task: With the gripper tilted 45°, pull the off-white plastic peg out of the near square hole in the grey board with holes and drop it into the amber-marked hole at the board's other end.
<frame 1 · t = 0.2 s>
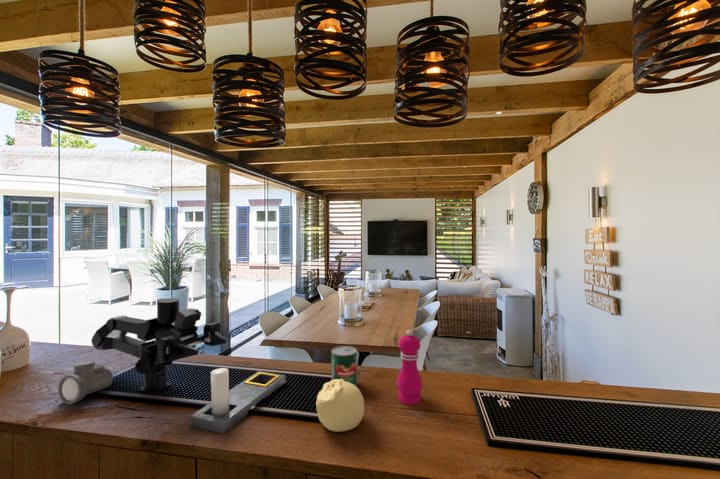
hand: (212, 346, 95), 17 cm above the worktop, fingers open, 9 cm apart
pepper mill: (409, 400, 99), on the worktop
peg: (220, 419, 90), resting in grey board with holes
sculpture: (340, 425, 87), on the worktop
canned tomato: (344, 385, 108), on the worktop
grey board with holes: (243, 402, 98), on the worktop
grey flashlight: (89, 395, 103), on the worktop
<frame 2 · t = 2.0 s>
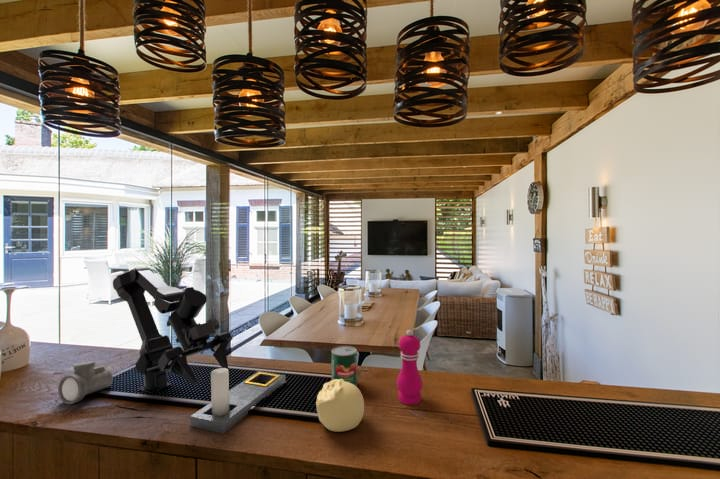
hand: (211, 376, 91), 10 cm above the worktop, fingers open, 9 cm apart
nothing on the worktop moved.
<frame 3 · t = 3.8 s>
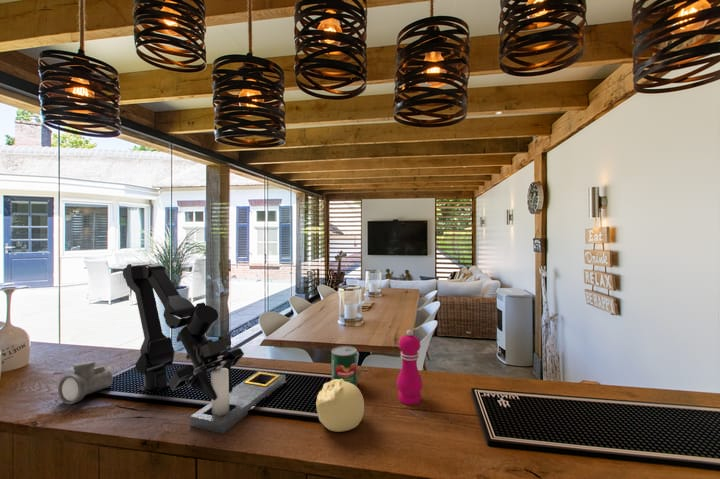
hand: (223, 395, 88), 7 cm above the worktop, fingers closed on peg, 4 cm apart
peg: (220, 419, 90), resting in grey board with holes, touching gripper
everything else where it was.
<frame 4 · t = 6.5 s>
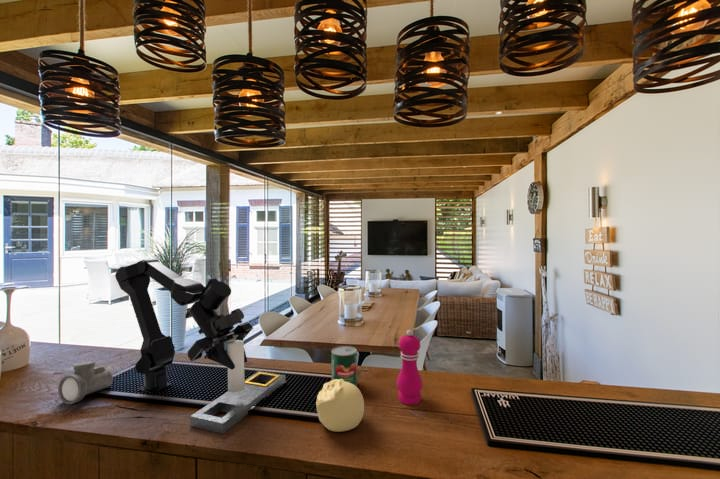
hand: (239, 365, 93), 12 cm above the worktop, fingers closed on peg, 4 cm apart
peg: (236, 388, 94), point 6 cm above the worktop, touching gripper
everything else where it was.
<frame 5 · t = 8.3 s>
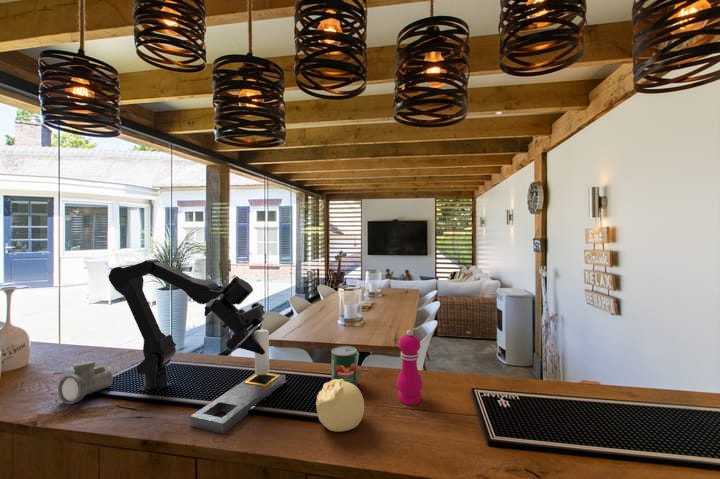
hand: (266, 350, 106), 11 cm above the worktop, fingers closed on peg, 4 cm apart
peg: (262, 371, 106), point 5 cm above the worktop, touching gripper
everything else where it was.
when the fingers open (8 cm above the worktop, at t = 9.4 s): peg stays where it is, resting in grey board with holes.
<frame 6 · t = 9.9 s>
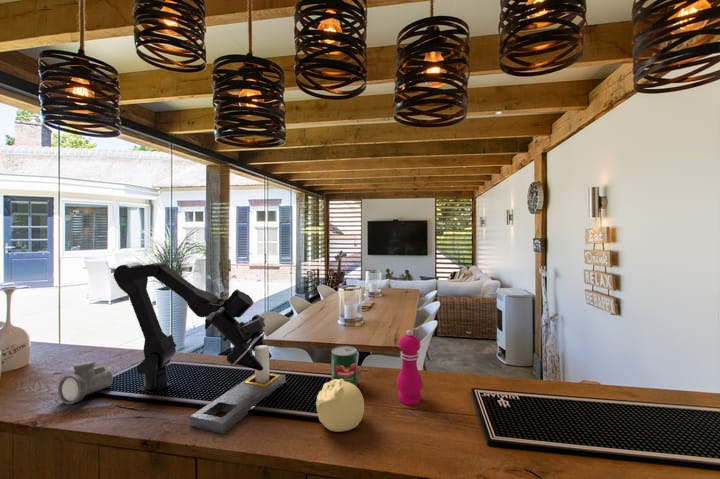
hand: (266, 363, 106), 8 cm above the worktop, fingers open, 9 cm apart
peg: (262, 387, 107), resting in grey board with holes
everything else where it was.
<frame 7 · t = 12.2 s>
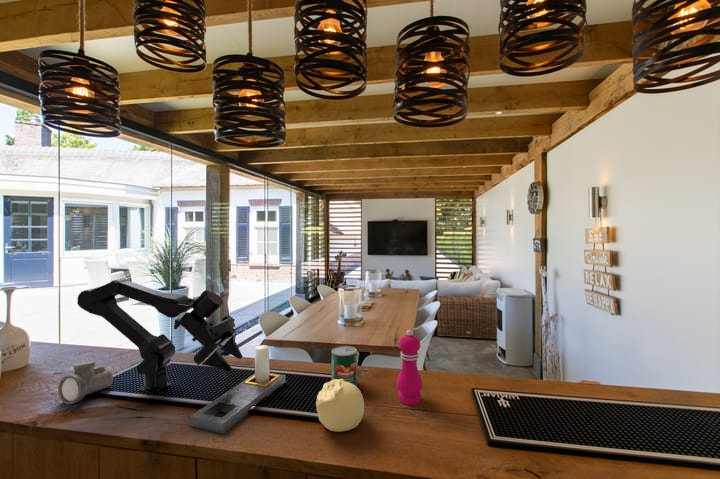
hand: (236, 363, 106), 7 cm above the worktop, fingers open, 9 cm apart
nothing on the worktop moved.
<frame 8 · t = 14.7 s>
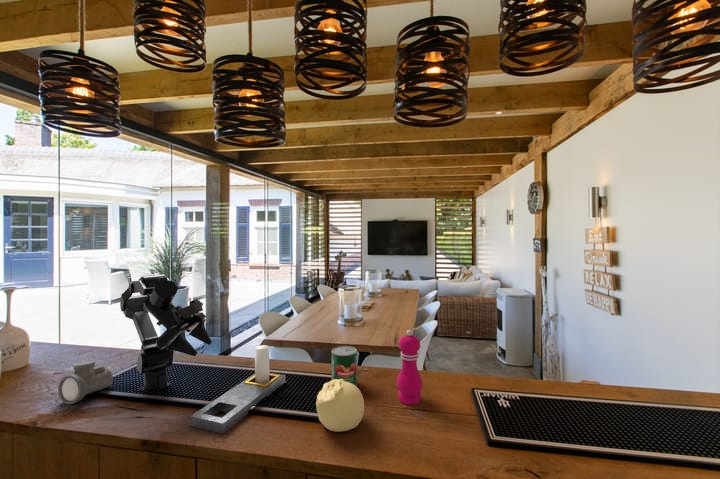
hand: (203, 349, 102), 14 cm above the worktop, fingers open, 9 cm apart
nothing on the worktop moved.
at the end: peg 0.0 cm from the target spot, resting in grey board with holes; peg tilted 0°; the gripper is holding nothing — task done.
